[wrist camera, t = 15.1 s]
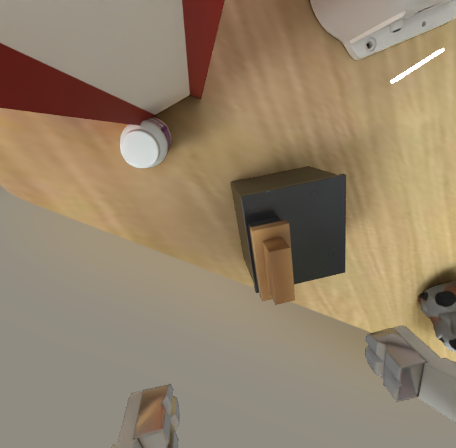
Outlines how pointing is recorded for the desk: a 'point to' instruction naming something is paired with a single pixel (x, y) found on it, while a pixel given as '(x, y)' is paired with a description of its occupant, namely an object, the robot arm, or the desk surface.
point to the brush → (273, 259)
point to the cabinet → (297, 218)
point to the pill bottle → (145, 143)
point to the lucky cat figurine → (441, 311)
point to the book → (104, 55)
